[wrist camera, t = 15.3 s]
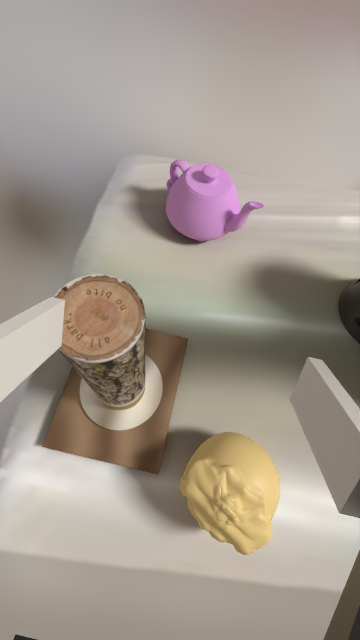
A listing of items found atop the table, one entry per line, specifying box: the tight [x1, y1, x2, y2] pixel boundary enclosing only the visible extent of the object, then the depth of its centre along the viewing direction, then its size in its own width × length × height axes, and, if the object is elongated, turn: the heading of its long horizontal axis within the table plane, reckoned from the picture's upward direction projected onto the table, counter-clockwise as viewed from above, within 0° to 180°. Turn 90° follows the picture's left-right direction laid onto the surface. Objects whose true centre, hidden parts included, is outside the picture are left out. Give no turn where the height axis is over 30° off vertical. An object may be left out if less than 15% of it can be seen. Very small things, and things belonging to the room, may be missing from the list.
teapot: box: [166, 160, 264, 242], centre depth 55 cm, size 20×14×12 cm
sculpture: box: [179, 432, 280, 555], centre depth 37 cm, size 12×12×11 cm
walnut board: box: [42, 329, 188, 474], centre depth 44 cm, size 16×20×2 cm
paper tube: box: [54, 274, 145, 410], centre depth 32 cm, size 7×7×25 cm
